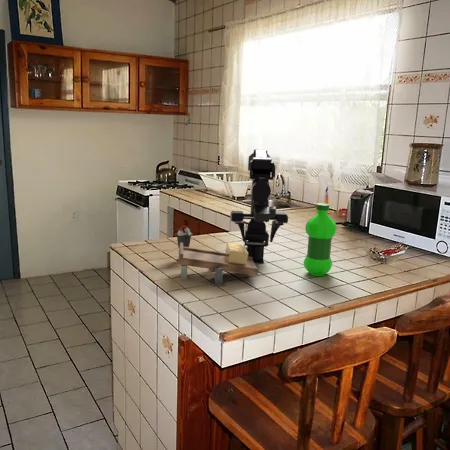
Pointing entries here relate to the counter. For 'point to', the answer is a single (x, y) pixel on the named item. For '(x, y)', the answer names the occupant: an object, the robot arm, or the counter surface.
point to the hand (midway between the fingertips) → (257, 242)
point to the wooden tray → (213, 261)
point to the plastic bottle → (319, 241)
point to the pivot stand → (218, 271)
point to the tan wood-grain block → (236, 254)
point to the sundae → (184, 236)
